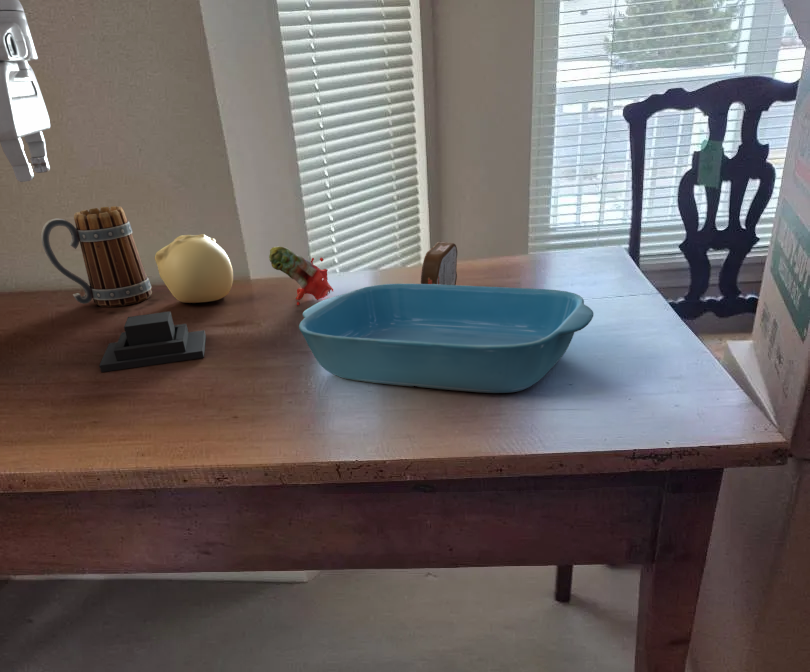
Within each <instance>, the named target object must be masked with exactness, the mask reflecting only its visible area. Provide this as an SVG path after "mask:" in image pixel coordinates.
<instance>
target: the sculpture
mask: <svg viewBox="0 0 810 672" xmlns="http://www.w3.org/2000/svg"><path fill="white" fill-rule="evenodd" d="M216 242H217V240H216V239H215V238H213V237H210V236H208V235H206V234H204V233H201V234H184V235H182V234H180V235H179V236H177V237H175V238H174V239H173V241H172V242H170V243H169V244H167V245H165V246H164V247H162V248H161V249H159V250H158V251H156V252H155V256H154V261H155V264H156V266H157V270H158V274H159V278H160V279H161V280H162V281H163V283H164V285H165V286H166V288H167V289H168V291H169V292H170V294H171V295H172V296H173V298H175V299H176V300H177V301H179V302H180V303H189V304H191V303H192V304H196V303H208V302H215V301H218V300H221V299H223V298H224V297H226V296H227V295H228V294H229V293H230V292H231V290H232V287H233V284H234V270H233V266H232V265H233V264H232V262H231V260H230V258H229V256H228V254H227V253H226V251H225V250H224V249H223V248H222V247H221V246H220V245H219V244H218V243H216Z"/></svg>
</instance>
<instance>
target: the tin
mask: <svg viewBox="0 0 810 672" xmlns="http://www.w3.org/2000/svg"><path fill="white" fill-rule="evenodd" d="M457 260H458V247H457V245H456V244H455V243H454V242H447V241H441V240H439V241H438V242H436V243H435V244H434V245H433V246H432V247H431V248H429V250H428V251H426V253H425V256H424V258H423V262H422V267H421V273H420V284H439V285H457V279H458V278H457V277H458V273H457V266H458V265H457V264H458V261H457Z"/></svg>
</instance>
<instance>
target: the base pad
mask: <svg viewBox="0 0 810 672" xmlns="http://www.w3.org/2000/svg"><path fill="white" fill-rule="evenodd" d="M174 327H175V331H176V338H175V340H171V341H164V342H157V343H150V344H142V345H135V346H129V343H128V339H127V336H126V333H125V331H123V332H120V335H119V337H118V340H117V341H115V342H109V343H108V344H107V347H106V349H105V352H104V354H103V355H102V359H101V361H100V363H99V371H100V372H101V373H106V372H113V371H114V372H115V371H120V370H128V369H134V368H142V367H149V366H154V365H155V366H156V365H163V364H170V363H177V362H185V361H191V360H199V359H204V358H205V350H206V338H207V335H206V331H205V330H204V329H202V330H195V331H189V329H188V324H187V323H181V324H174Z"/></svg>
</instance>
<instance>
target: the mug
mask: <svg viewBox="0 0 810 672" xmlns="http://www.w3.org/2000/svg"><path fill="white" fill-rule="evenodd" d="M73 220H74V223H75V225H74V224H72V222H69V221H68V220H66V219H63V218H50V219H49V220H47V221H46V222H45V223H44V224H43V227H42V229H41V234H40V239H41V245H42V248H43V250H44V252H45V254H46V256H47V258H48V260H49V261H50V263H51V264H52V265H53V266H54V268H55V269H57V271H59V272H60V273H61V274H62V275H63V276H65V277H67V278H68V279H69V280H71V281H73V282H75V283H76V284H78V285H79V286H81V287H82V288H83V290H84V295H83V296H82V295H81V294H80V292H76V293H73V294H72V296H73V298H74V299H75V300H76V301H77V302H78V303H80V304H84V305H86V304H89V303H90V302H91V301H92V300H93V301H92V302H93V303H94V304H96V305H97V306H99V307H102V308H117V307H125V306H130V305H134V304H138V303H141V302H143V301H146V300H147V299H149V298H150V297H151V295H152V293H153V291H152V284H151V282H150V279H149V276H148V275H147V273H146V270H145V267H144V265H143V262H142V257H141V255H140V252H139V250H138V247H137V244H136V241H135V238H134V235H133V229H132V225H131V223H130V221H129V220H128V217H127V215H126V212H125V210H124V209H123V207H122V206H117V205H113V206H110V207H109V206H101V207H100V208H98V207H93V208H89V209H88V210H87V209H83V210H80V211H76V212H74V214H73ZM56 227H65V228H66V229H67V230H68V231H69V233H70V236H71V239H70V242H69V244H68V245H69V247H70V246H71V248H73V249H75V250H77V248H78V247H79V245H80V248H81V253H82V258H83V262H84V266H85V271H86V274H87V279H88V283H89V284H88V283H87V281H85V280H84V279H82V278H81V276H80V277H79V276H78V275H76V274H74V273H73V272H72V271H70V270H69V269H67V268H65V267H64V266H63V265H62V264H61V262H59V260H58V259H57V257H56V255H55V253H54V251H53V249H52V247H51V243H50V234H51V232H52V231H53V229H54V228H56Z"/></svg>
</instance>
